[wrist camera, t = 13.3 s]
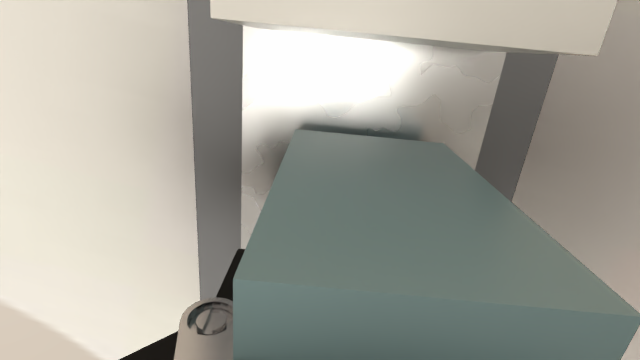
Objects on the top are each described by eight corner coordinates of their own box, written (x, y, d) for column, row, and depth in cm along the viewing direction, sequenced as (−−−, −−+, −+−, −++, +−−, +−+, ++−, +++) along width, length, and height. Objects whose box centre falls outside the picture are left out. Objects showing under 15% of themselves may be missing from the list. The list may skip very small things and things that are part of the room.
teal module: (443, 143, 12) (643, 316, 4) (401, 327, 15) (476, 623, 7) (295, 129, 12) (232, 279, 4) (282, 316, 15) (233, 602, 7)
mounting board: (623, -224, 10) (672, -270, 9) (424, 434, 21) (431, 464, 20) (190, -271, 10) (167, -324, 9) (212, 416, 21) (203, 444, 20)
